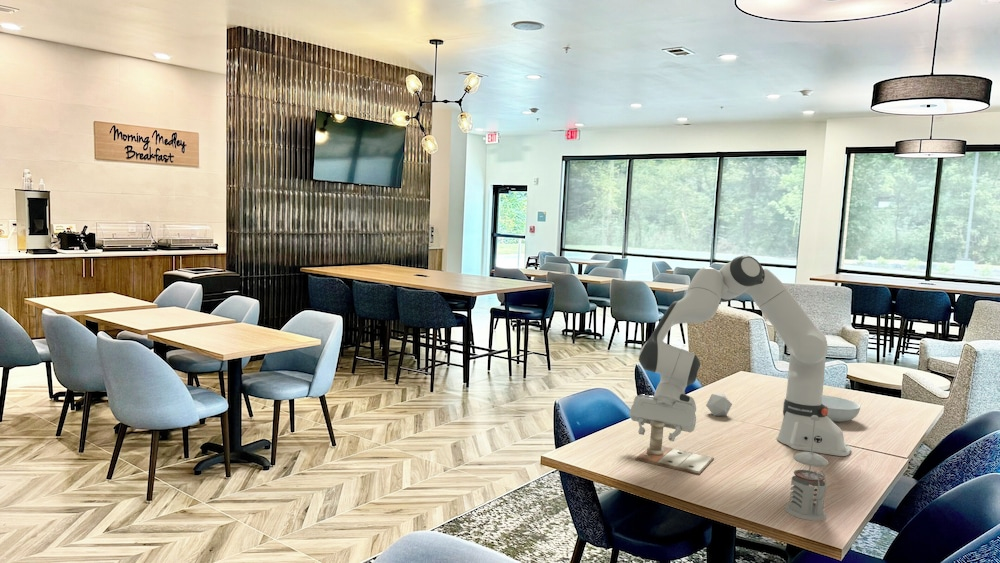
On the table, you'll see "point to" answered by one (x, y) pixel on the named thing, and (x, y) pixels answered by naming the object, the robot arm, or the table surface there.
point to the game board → (678, 460)
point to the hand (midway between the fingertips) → (655, 436)
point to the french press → (805, 493)
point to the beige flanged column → (656, 438)
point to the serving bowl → (840, 408)
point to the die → (719, 404)
